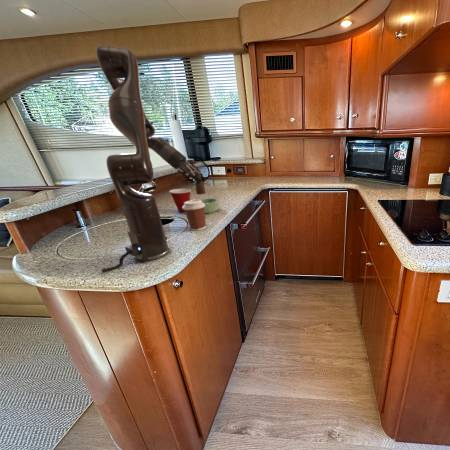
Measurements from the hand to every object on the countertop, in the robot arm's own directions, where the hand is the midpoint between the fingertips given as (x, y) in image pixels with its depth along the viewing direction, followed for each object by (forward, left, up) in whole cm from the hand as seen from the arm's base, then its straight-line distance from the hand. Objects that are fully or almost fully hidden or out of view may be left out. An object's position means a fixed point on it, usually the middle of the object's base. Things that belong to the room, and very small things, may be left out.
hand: (202, 181), depth 115 cm
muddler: (-1, +2, -6) cm, 6 cm away
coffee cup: (-14, -11, -18) cm, 25 cm away
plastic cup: (+1, +22, -18) cm, 29 cm away
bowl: (+6, +9, -18) cm, 21 cm away
